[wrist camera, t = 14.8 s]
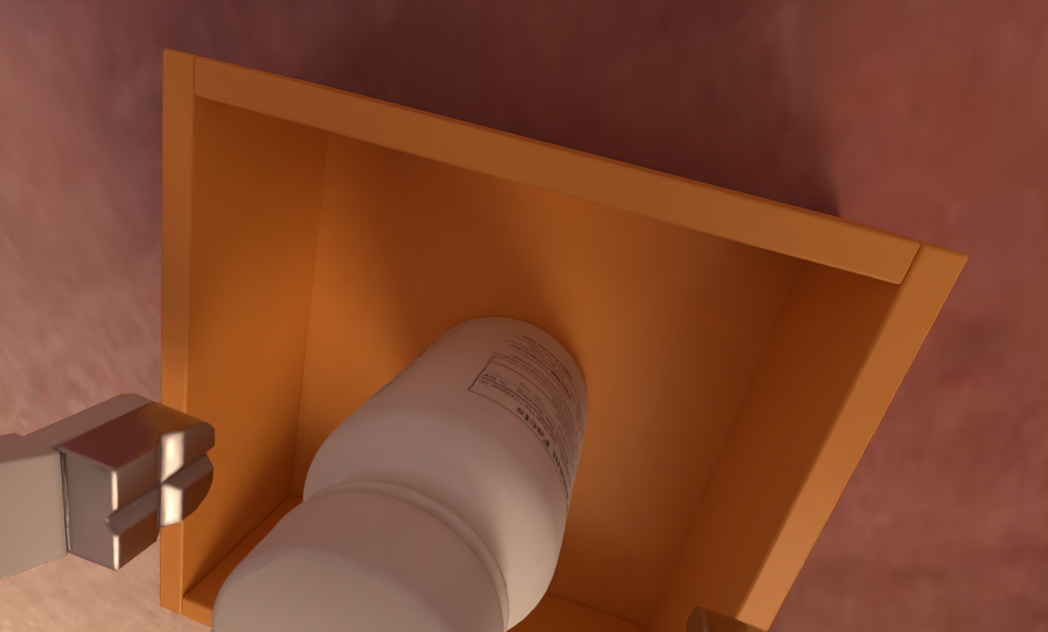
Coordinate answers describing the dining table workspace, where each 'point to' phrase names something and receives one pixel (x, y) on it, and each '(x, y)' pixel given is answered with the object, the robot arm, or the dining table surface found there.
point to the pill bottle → (429, 497)
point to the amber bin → (534, 297)
